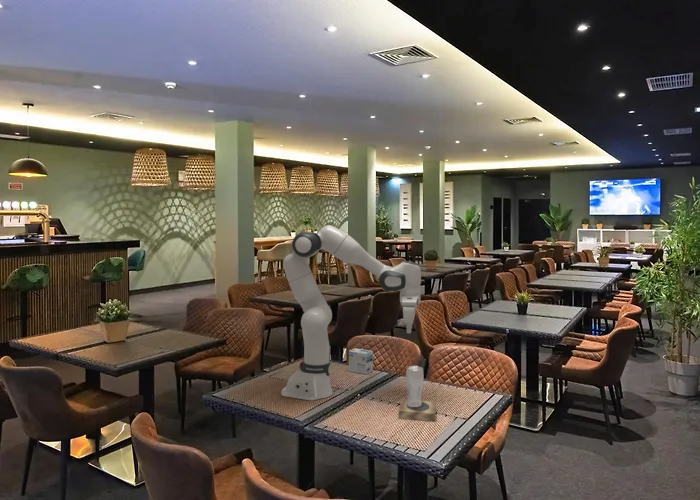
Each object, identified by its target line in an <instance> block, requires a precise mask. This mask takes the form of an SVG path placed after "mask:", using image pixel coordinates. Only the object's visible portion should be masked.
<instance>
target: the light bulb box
mask: <svg viewBox="0 0 700 500" xmlns="http://www.w3.org/2000/svg"><path fill="white" fill-rule="evenodd" d="M373 363H374V351H373V350H368V349H362V348H356V347H355V348H352V349H350V350H349V351H348V372H352V373H357V374H360V373H361V375H365V374H367V375H369V374H371V373H373V372H374V364H373ZM368 373H369V374H368Z"/></svg>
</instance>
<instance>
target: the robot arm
mask: <svg viewBox="0 0 700 500" xmlns="http://www.w3.org/2000/svg"><path fill="white" fill-rule="evenodd" d="M291 246H292V252H291V253H289V254H287V255H286V256H285V257H284V259H283V261H282V263H283V264H282V265H283V270H284V272H285V276H286V279H287V282H288V285H289V287H290V289H291V292H292V295H293V296H294V299H295V300H296V301H297V302H298V304H299V305H300V307H301V308H302V311H303V312H304V313H303V314H302V316H301V320H300V327H301V330H302V332H301V333H302V337H303V347H304V349H303V350H304V351H303V352H304V354H303V359H301V361H300V363H299V364H298V368H299V370H297V371H296V372H295V373H293V374H292V375H291V376H290V377H289V378H288V379H287V382H286V386H285V387H283V388H282V389H281V392H280V393H281V394H280V395H281V396H282V397H287V398H290V399H291V398H293V399H298V400H305V401H310V402H312V401H316V400H319V399H326V398H328V397H331V396H332V395H333V389H332V384H331V377H330V375H331V368H332V367H331V361H330V341H329V335H328V327H329V325H330V323H331V322H332V319H333V312H332V309H331V307H330V306H329V304H328V303H327V301H326V299H325V297H324V295H323V294H322V292H321V290H320V289H319V287H318V284H317V281H316V280H315V276H314V275H313V272H312V270H311V267H310V265H309V264H310V263H309V259H311V258H313V257H314V255H316V254H317V253H318V252H319V251H320V250H324V251H326V252H327V253H329V254H331V255H332V256H334V257H335V258H336V259H338V260H340V261H341V262H343V263H347V264H351V265H352V264H353V265H358V266H361V267H363V268H364V269H365V270H367V271H369V272H370V273H371V274H373V275H374V276H375V277H377V279H378V284H379V286H380V288H381V289H382V290H384V291H386V292H395V291H399V303H400V304H401V307H402V317H403V323H404V324H403V325H405V326H406V334H411V333H412V329H413V324H414V320H415V317H416V316H415V315H416V308H418V305H419V304H421V300H422V299H421V297H422V296H421V292H422V291H421V284H422V272H421V267H420V266H419V264H418V263H416V262H414V261H410V260H409V261H408V260H403V261H402V262H401V263H399V264H397V265H395V266H392V265H388V264H384V263H383V262H381V261H380V260H378V259H377V258H375V257H374V256H372V255H371V254H370V253H368V252H367V251H366V249H364V248H363V247H362V246H361V244H360V243H359V242H358V241H356V240H355V238H353V237H352V236H351V235H349V234H348V233H346V232H344V231H343V230H341V229H340V228H338V227H336V226H333V225H332V224H331V225H329V224H327V225H324V226H323V227H322V228H320V230H319V231H318V232H312V231H310V230H309V231H308V230H305V231H302V232H299V233H297V234H296V235H295V236H294V237H293V239H292V241H291Z"/></svg>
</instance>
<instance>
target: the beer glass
mask: <svg viewBox="0 0 700 500" xmlns="http://www.w3.org/2000/svg"><path fill="white" fill-rule="evenodd" d="M405 385H406V391H407V393H406V394H407V399H406V400H407V406H408V407H412V408H419V407H421V406H422V402H421V401H422V392H423V386H424V367H422V366H419V365H409V366H406V371H405Z"/></svg>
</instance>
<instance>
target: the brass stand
mask: <svg viewBox="0 0 700 500" xmlns="http://www.w3.org/2000/svg"><path fill="white" fill-rule="evenodd" d="M421 402H422V406H421V407H419V408H412V407H408V406H407V399H404V398H403V399H402V398H401V400H400V405H399V409H398V419H401V420H413V421H424V422H436V411H437V410H436V409H437V408H436V406H437V402H436V401H431V400H430V401H429V400H428V401H427V400H421Z"/></svg>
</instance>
